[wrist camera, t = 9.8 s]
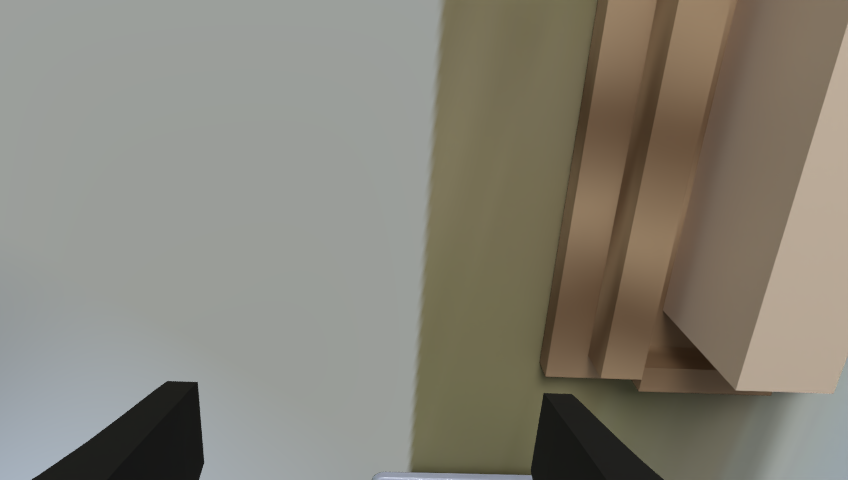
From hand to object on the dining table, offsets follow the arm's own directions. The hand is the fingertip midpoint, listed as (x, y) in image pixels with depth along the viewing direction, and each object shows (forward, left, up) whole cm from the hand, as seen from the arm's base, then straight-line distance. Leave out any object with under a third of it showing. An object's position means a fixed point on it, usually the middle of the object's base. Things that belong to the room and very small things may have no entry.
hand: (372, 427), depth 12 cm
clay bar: (+5, -12, -9) cm, 16 cm away
